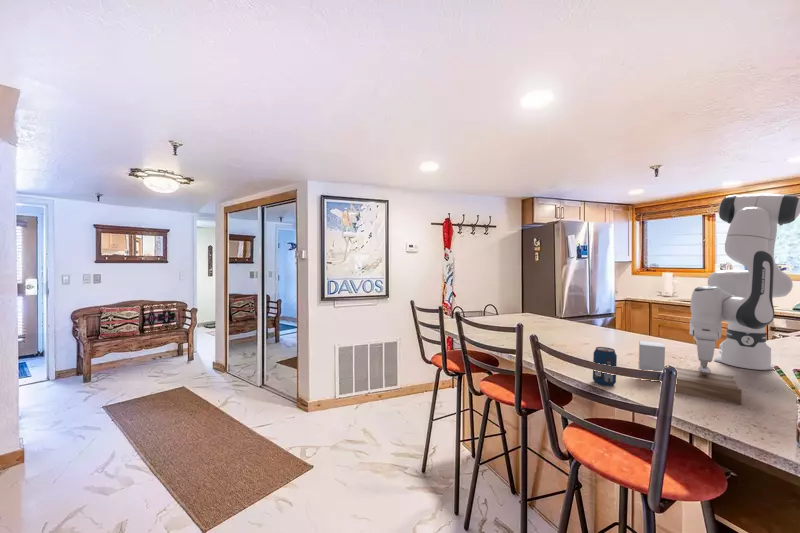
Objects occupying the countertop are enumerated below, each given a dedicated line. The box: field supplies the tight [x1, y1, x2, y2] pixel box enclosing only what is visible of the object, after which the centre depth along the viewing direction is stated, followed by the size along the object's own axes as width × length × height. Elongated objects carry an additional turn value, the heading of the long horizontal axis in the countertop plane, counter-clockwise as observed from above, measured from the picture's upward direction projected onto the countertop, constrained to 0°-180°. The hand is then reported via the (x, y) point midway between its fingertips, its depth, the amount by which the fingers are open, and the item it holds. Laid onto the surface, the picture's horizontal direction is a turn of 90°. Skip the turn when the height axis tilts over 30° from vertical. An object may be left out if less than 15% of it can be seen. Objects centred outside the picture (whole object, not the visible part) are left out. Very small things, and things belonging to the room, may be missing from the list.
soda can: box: [592, 346, 618, 388], centre depth 126 cm, size 7×7×12 cm
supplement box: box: [638, 340, 666, 371], centre depth 132 cm, size 7×7×13 cm
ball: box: [697, 365, 712, 376], centre depth 128 cm, size 4×4×4 cm
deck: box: [675, 367, 743, 406], centre depth 123 cm, size 24×16×4 cm, turn 142°
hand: (703, 368), depth 133 cm, fingers closed
